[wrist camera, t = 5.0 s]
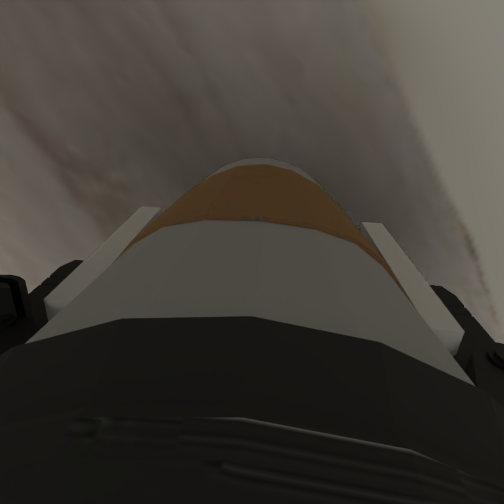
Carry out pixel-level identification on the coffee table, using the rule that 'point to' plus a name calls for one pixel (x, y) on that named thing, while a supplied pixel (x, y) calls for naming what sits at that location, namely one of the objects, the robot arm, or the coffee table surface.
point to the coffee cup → (245, 369)
